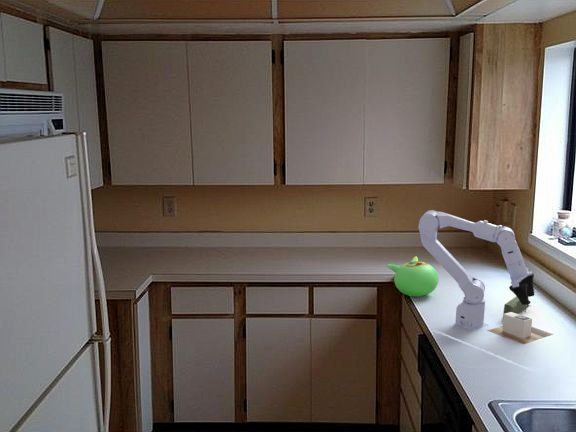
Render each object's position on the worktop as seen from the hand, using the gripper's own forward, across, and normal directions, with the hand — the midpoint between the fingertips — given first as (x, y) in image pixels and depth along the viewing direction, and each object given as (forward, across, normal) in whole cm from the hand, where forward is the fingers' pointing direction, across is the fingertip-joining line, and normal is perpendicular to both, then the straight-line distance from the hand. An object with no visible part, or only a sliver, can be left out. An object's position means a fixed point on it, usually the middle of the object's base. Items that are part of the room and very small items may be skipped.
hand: (528, 300), depth 200 cm
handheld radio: (+10, +18, +12) cm, 23 cm away
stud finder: (+9, -6, +6) cm, 12 cm away
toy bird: (-5, +15, +48) cm, 51 cm away
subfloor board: (+10, -4, +5) cm, 12 cm away
